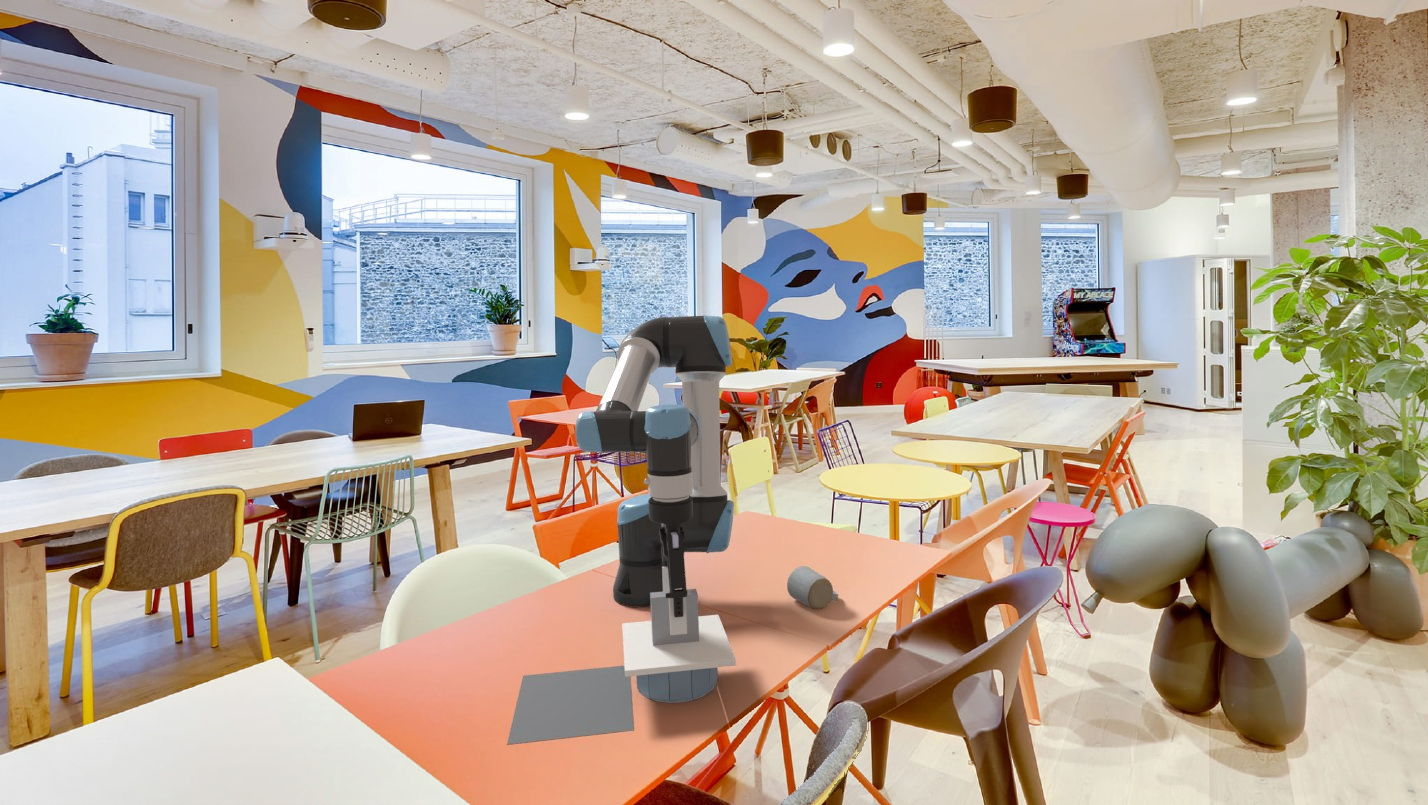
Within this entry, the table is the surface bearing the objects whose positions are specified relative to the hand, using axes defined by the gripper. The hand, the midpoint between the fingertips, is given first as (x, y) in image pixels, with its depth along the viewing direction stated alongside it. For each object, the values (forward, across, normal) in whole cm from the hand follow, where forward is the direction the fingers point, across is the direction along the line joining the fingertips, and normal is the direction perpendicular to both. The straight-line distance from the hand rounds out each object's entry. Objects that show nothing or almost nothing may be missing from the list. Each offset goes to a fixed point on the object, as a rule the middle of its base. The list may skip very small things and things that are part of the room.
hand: (674, 616), depth 121 cm
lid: (+5, 0, 0) cm, 5 cm away
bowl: (+12, 0, 0) cm, 12 cm away
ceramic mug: (+13, -29, +34) cm, 47 cm away
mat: (+12, +3, -18) cm, 22 cm away
